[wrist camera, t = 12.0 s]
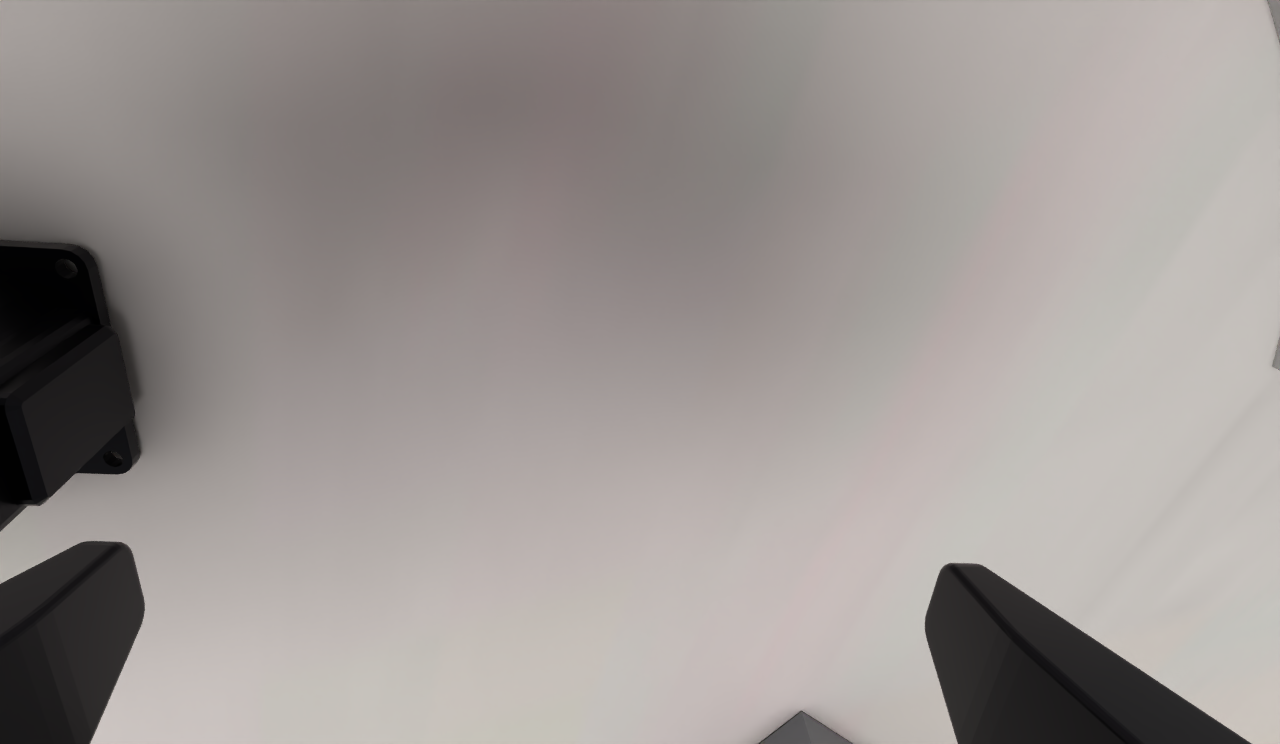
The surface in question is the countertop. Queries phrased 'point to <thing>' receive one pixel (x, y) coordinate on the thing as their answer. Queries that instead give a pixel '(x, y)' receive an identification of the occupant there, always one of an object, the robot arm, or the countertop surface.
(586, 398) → the countertop surface
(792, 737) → the end cap
